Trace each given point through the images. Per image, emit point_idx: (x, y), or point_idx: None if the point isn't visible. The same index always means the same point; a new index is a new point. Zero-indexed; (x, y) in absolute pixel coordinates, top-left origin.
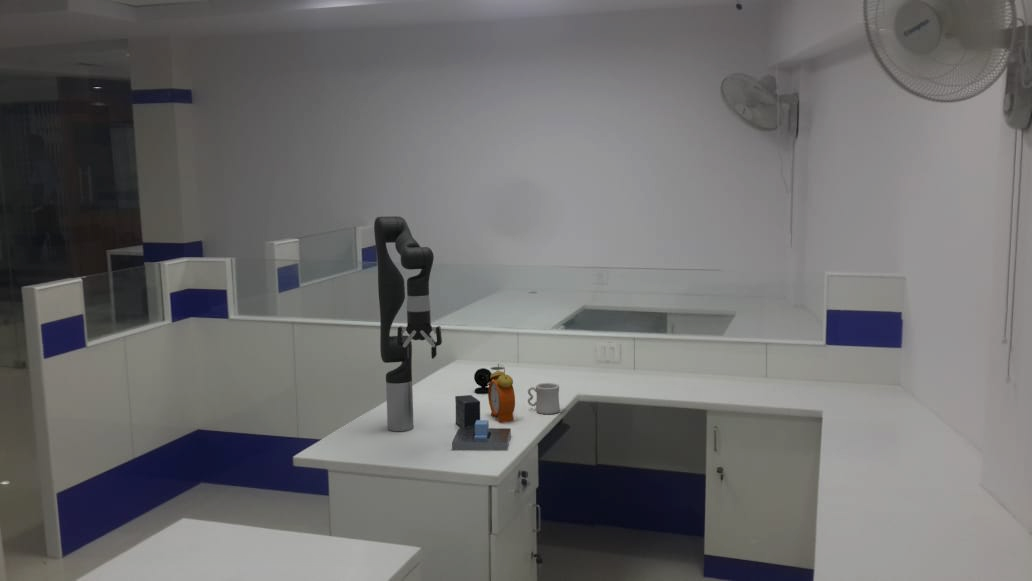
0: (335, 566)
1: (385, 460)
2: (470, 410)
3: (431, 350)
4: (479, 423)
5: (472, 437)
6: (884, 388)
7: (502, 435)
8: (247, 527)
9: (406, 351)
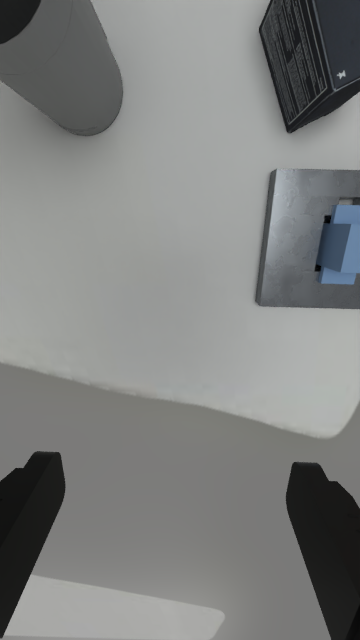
0: (156, 633)
1: (120, 366)
2: (343, 95)
3: (321, 604)
4: (356, 262)
5: (314, 265)
6: None
7: None
8: None
9: (19, 574)
